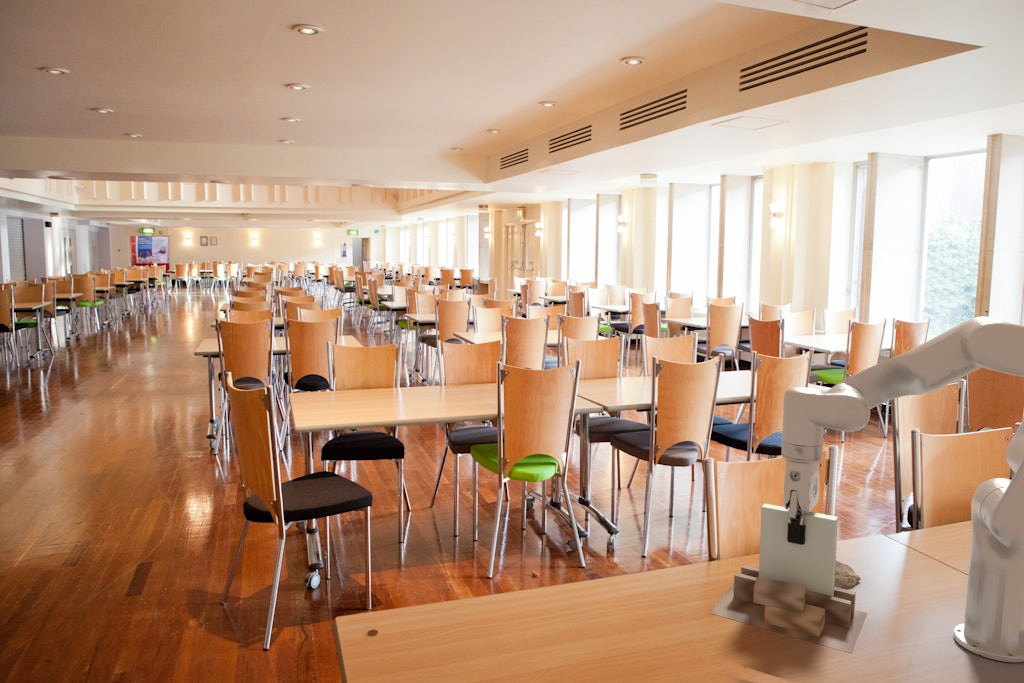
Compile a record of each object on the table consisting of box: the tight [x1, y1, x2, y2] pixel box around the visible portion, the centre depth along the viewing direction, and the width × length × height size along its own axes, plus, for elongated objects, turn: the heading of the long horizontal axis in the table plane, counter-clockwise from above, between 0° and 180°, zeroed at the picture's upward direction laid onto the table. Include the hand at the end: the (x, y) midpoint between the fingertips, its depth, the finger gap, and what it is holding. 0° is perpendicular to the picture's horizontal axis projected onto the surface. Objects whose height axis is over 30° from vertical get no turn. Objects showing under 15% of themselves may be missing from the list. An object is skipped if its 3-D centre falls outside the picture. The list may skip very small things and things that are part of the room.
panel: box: [758, 503, 839, 597], centre depth 150 cm, size 14×2×18 cm, turn 56°
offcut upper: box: [753, 577, 806, 613], centre depth 145 cm, size 9×4×4 cm, turn 64°
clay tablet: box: [834, 560, 862, 589], centre depth 165 cm, size 14×5×20 cm
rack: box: [709, 564, 868, 654], centre depth 148 cm, size 26×18×6 cm
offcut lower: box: [764, 604, 826, 637], centre depth 144 cm, size 10×5×4 cm, turn 56°
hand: (797, 539), depth 149 cm, fingers closed on panel, 2 cm apart
